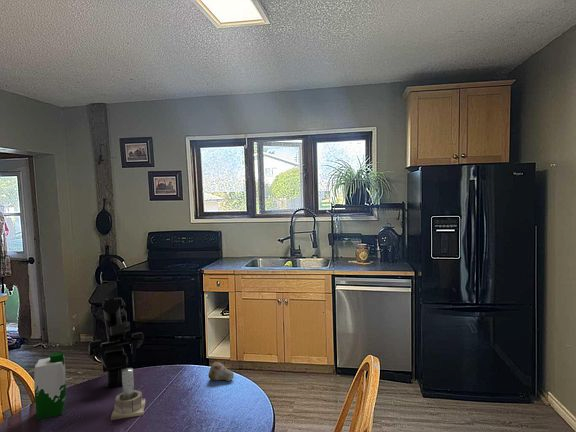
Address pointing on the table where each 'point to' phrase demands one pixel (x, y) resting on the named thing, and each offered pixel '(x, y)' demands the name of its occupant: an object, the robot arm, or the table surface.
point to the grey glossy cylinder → (128, 383)
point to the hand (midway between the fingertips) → (120, 364)
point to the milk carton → (50, 386)
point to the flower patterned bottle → (220, 372)
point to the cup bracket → (128, 406)
